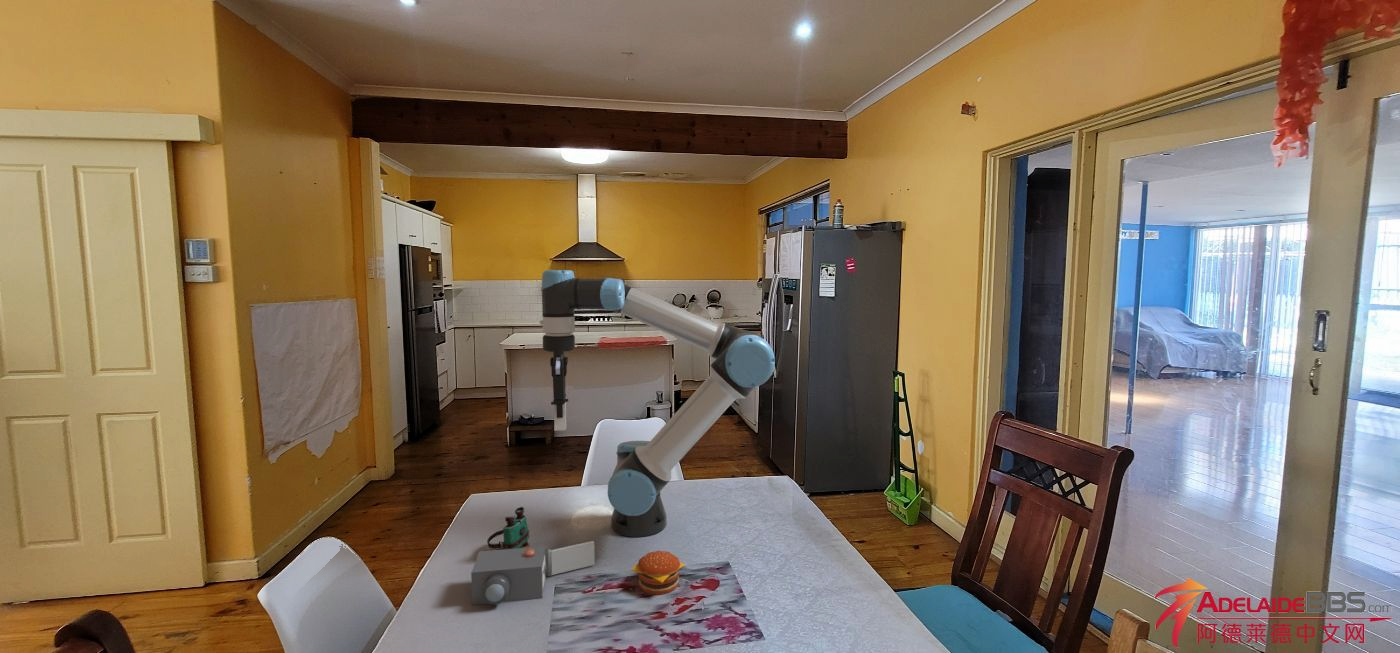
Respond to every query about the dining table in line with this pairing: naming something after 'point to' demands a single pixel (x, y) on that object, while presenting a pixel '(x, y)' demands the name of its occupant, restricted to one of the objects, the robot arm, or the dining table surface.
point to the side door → (570, 558)
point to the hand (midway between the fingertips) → (560, 429)
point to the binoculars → (513, 532)
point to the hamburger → (658, 572)
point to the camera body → (508, 575)
